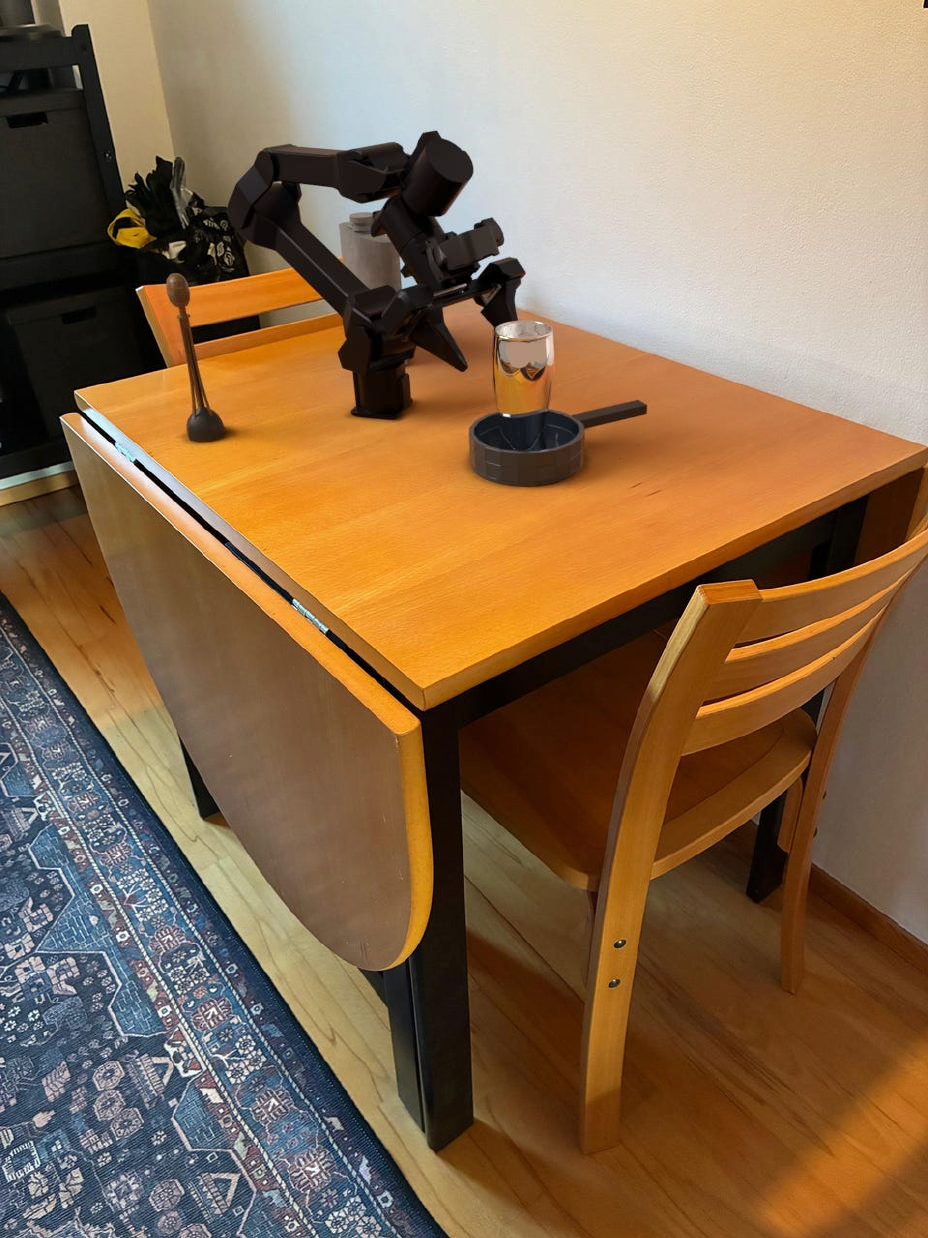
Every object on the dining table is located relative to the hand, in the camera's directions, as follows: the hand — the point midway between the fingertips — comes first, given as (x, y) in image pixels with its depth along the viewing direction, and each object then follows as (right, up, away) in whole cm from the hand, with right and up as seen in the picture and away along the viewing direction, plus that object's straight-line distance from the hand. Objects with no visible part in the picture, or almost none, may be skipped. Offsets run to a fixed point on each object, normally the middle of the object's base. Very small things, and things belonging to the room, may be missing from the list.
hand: (493, 358), depth 110 cm
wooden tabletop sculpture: (-36, -6, +14) cm, 39 cm away
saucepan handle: (+14, -6, +6) cm, 16 cm away
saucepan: (+4, -11, +3) cm, 12 cm away
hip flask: (-17, +11, +38) cm, 43 cm away
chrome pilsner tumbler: (+4, -11, +3) cm, 12 cm away
